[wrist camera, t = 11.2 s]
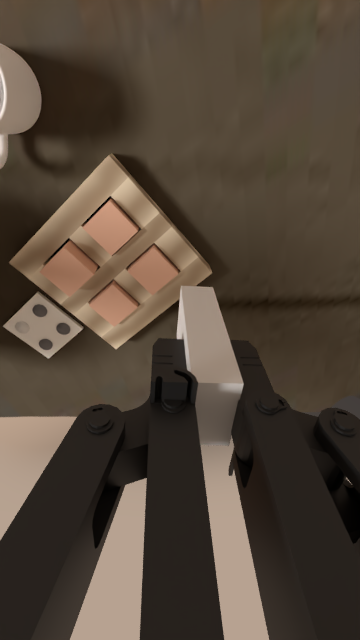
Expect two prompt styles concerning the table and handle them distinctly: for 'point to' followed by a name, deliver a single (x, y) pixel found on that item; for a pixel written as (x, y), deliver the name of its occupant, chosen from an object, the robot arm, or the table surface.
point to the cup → (16, 98)
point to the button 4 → (153, 269)
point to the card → (43, 325)
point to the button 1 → (69, 268)
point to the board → (152, 229)
